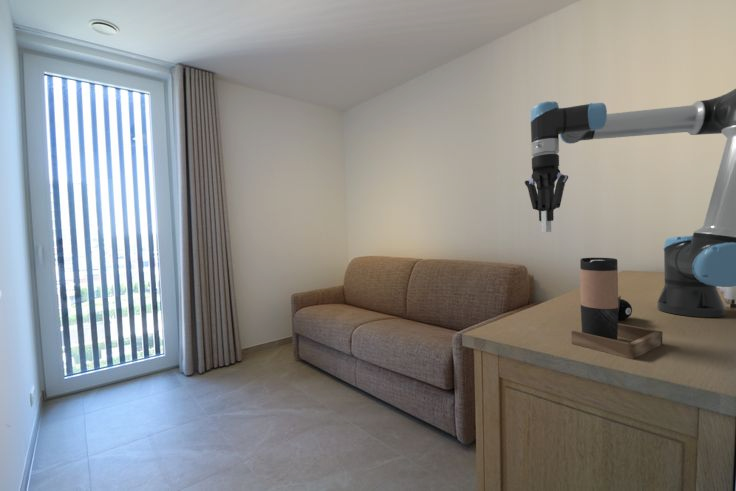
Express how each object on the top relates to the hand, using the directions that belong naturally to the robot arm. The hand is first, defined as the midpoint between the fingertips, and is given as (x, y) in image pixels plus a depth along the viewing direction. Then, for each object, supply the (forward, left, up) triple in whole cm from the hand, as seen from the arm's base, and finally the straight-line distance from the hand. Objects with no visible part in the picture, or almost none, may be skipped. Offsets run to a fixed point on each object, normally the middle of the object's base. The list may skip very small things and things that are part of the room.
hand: (546, 231), depth 107 cm
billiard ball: (-11, +15, -27) cm, 32 cm away
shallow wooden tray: (+12, +24, -26) cm, 38 cm away
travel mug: (+13, +21, -27) cm, 36 cm away
